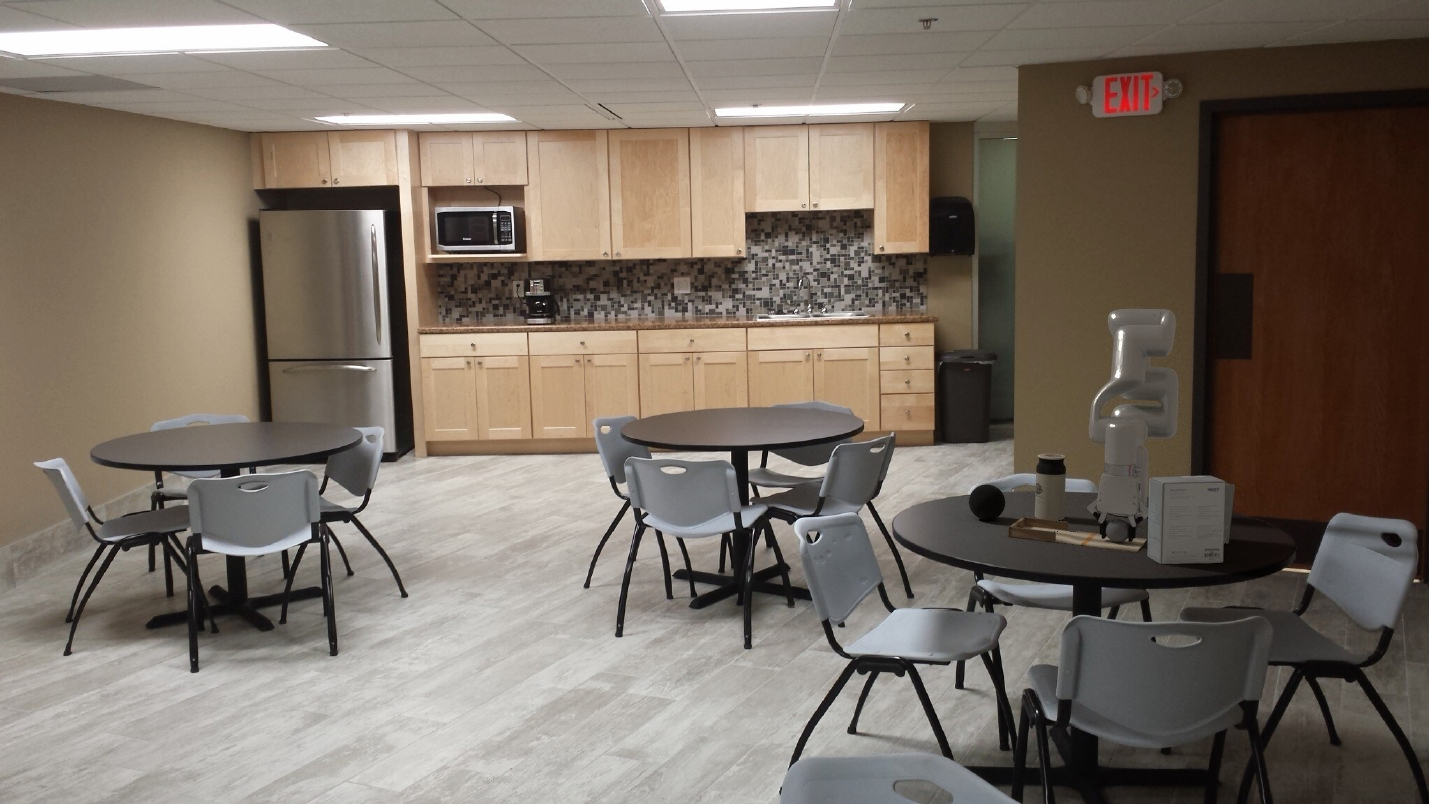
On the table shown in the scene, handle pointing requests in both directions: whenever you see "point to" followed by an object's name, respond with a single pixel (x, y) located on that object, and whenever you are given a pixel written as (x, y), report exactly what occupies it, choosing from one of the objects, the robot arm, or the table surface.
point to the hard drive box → (1186, 519)
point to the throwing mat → (1067, 535)
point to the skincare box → (1228, 510)
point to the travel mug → (1050, 487)
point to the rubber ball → (1117, 530)
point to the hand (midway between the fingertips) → (1117, 538)
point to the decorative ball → (987, 502)
